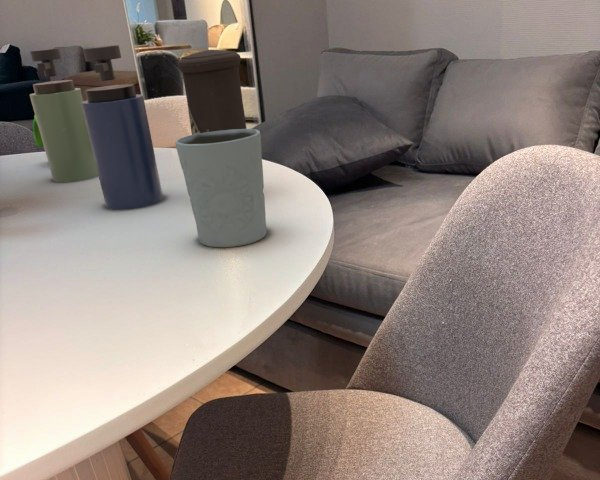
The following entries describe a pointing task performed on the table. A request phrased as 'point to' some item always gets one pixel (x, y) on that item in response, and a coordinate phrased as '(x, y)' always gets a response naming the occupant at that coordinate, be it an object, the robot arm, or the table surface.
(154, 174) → the navy lidded canister
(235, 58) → the container
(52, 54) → the sage flask pump
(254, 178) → the grey-green cup
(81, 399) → the table surface
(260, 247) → the table surface
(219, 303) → the table surface
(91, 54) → the navy flask pump
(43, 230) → the table surface
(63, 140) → the sage flask
